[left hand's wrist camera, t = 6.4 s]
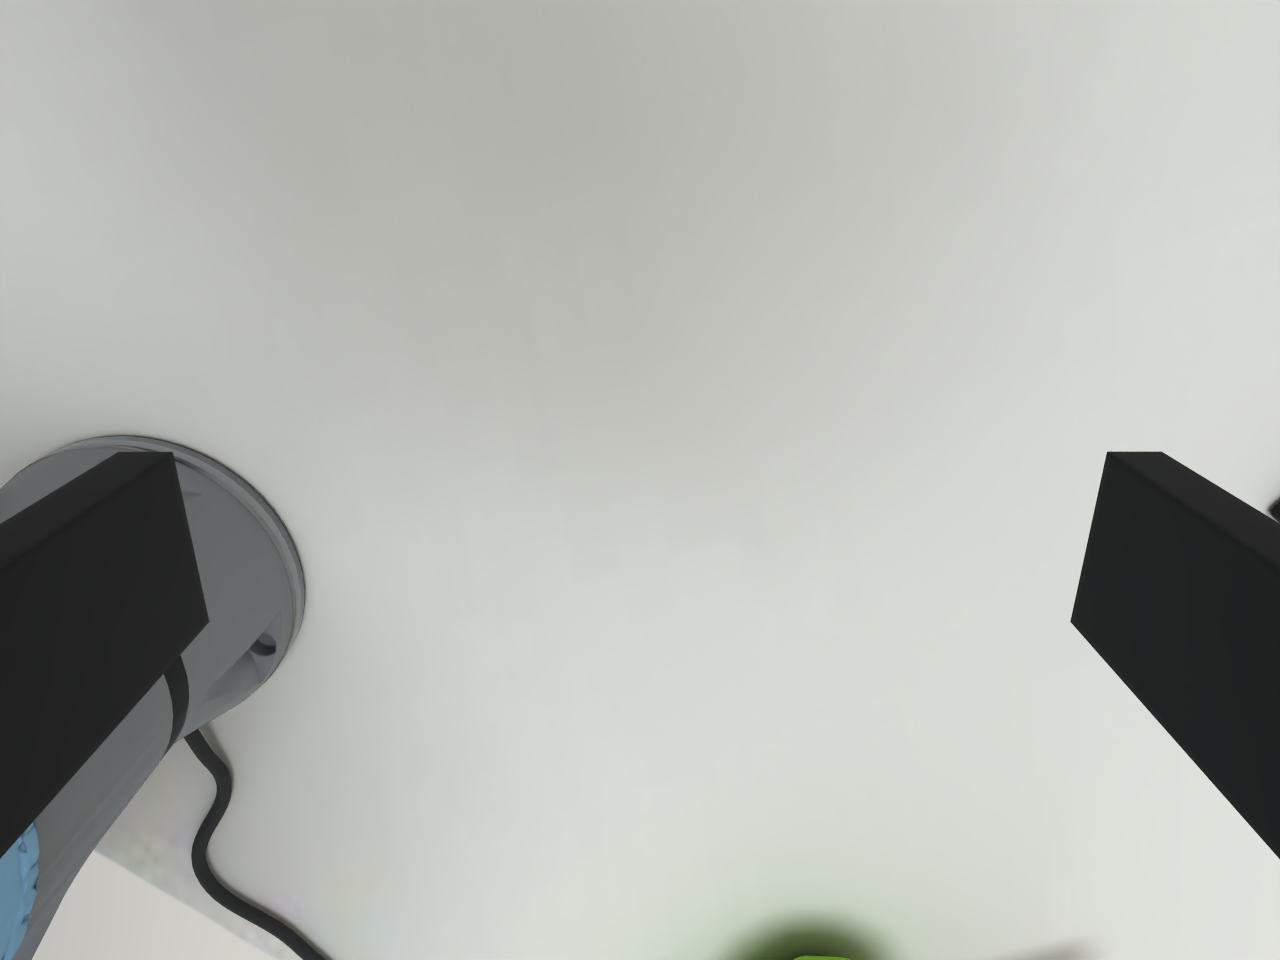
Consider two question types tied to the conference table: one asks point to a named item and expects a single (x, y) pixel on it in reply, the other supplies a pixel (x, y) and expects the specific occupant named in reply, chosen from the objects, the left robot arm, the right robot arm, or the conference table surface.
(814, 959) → the decorative tree
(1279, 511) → the black angled piece
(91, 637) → the left robot arm
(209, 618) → the right robot arm
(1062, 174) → the conference table surface
